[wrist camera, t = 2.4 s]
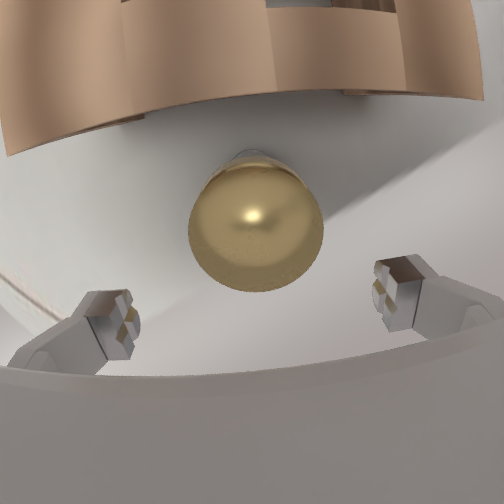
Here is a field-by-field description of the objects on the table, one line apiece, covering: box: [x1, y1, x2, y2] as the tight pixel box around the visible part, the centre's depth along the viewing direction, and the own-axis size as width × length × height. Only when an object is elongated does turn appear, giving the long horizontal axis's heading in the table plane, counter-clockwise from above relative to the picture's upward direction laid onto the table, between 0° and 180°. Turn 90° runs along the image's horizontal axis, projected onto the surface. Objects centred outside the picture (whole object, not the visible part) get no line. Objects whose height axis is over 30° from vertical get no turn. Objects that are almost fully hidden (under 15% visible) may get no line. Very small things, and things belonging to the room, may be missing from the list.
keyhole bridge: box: [0, 0, 484, 157], centre depth 14 cm, size 22×12×15 cm, turn 97°
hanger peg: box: [188, 149, 324, 292], centre depth 20 cm, size 6×6×14 cm
